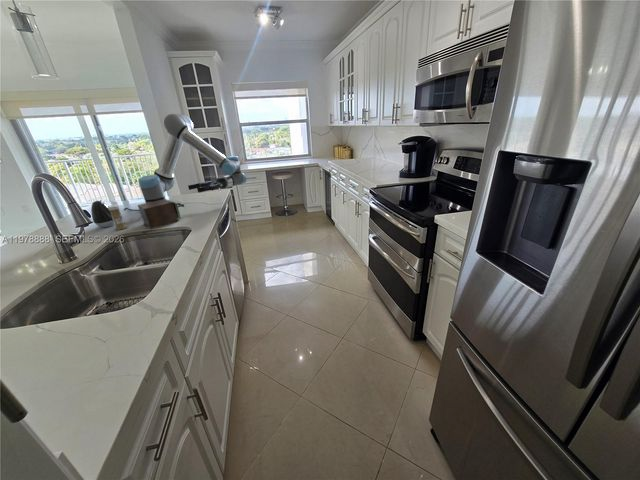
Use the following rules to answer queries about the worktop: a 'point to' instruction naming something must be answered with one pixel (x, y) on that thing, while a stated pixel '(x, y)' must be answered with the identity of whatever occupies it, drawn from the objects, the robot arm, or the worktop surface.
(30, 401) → the worktop surface
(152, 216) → the cabinet
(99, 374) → the worktop surface
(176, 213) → the drawer
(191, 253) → the worktop surface
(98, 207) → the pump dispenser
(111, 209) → the sprinkles bottle
